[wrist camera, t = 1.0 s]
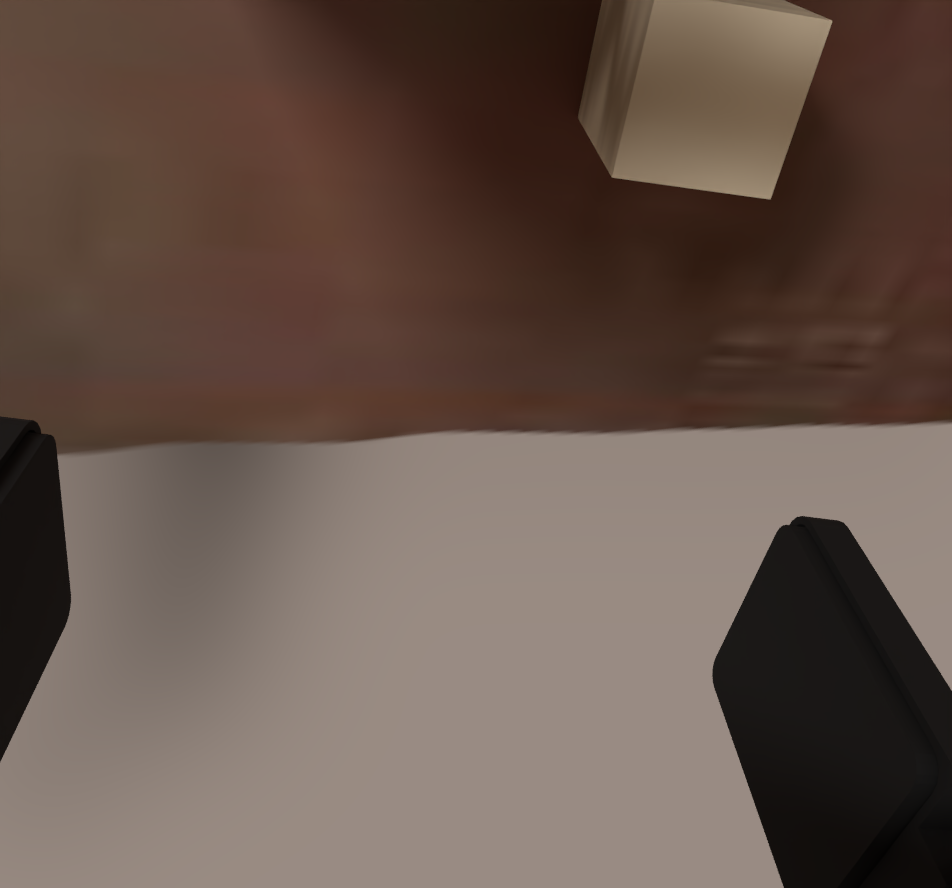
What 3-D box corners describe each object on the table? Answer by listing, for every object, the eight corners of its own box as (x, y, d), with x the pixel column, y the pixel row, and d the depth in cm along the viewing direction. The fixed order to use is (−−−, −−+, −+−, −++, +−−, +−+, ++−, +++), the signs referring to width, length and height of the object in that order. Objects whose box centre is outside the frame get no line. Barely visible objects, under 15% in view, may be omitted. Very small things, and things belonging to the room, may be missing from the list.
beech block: (609, -38, 29) (656, -9, 23) (752, -14, 29) (832, 20, 23) (577, 117, 31) (612, 177, 26) (708, 136, 32) (770, 199, 26)
